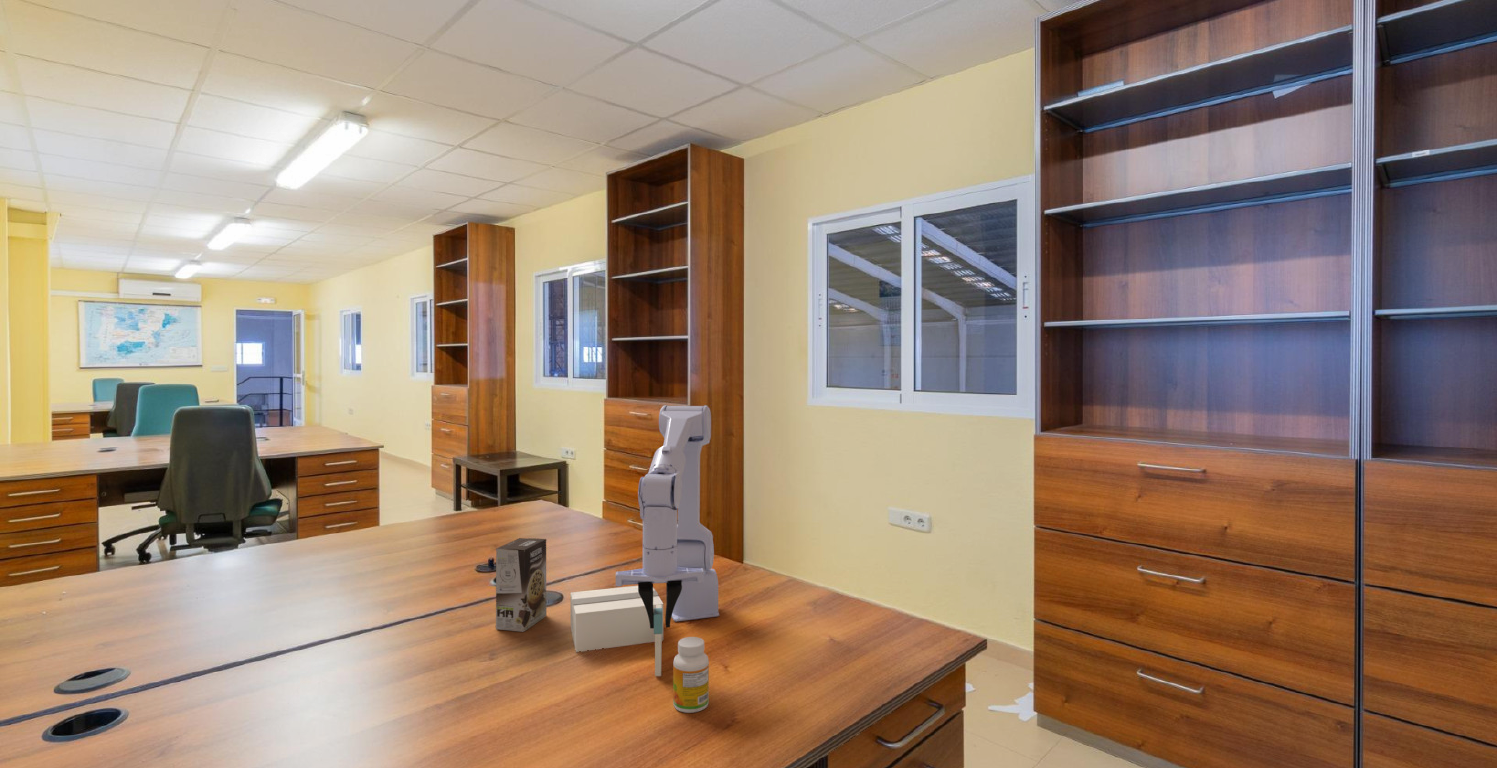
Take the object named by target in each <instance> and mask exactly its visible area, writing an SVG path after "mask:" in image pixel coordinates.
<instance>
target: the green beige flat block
mask: <svg viewBox="0 0 1497 768" xmlns="http://www.w3.org/2000/svg"><path fill="white" fill-rule="evenodd" d="M654 634H655V642H654V677H662V649H663V648H662V604H660V605H656V608H654Z"/></svg>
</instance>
